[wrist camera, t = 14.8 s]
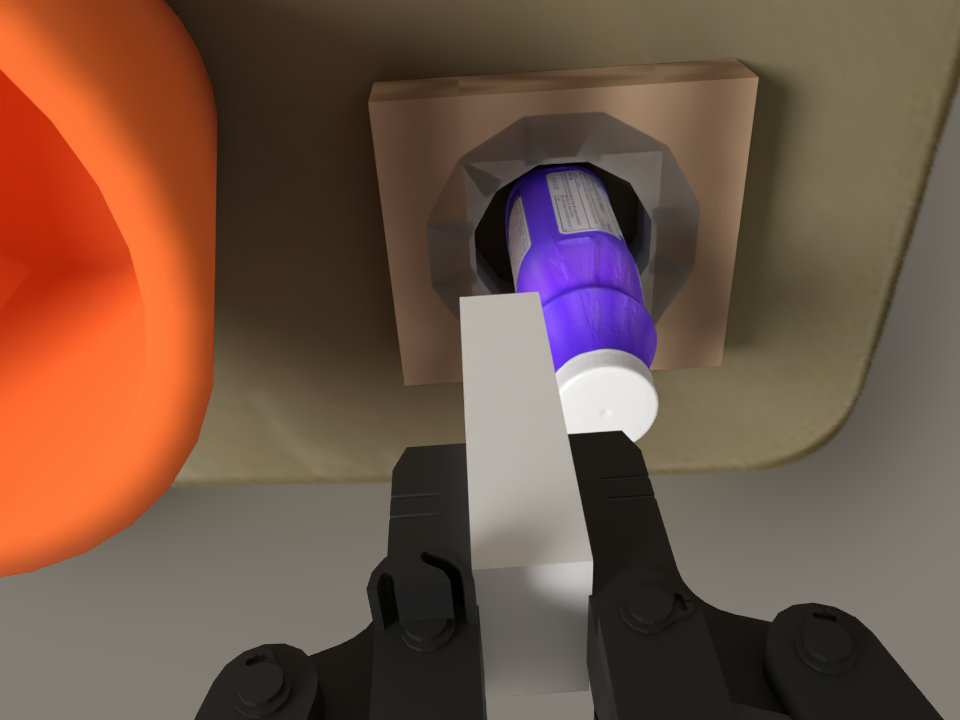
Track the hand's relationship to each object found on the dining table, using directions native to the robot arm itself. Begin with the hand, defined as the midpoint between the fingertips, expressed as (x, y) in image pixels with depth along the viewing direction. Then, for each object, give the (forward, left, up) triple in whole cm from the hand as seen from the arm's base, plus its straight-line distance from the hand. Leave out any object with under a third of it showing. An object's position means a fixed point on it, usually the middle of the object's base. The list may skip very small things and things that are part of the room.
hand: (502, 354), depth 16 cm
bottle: (+4, -10, -29) cm, 30 cm away
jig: (+4, -10, -28) cm, 30 cm away
